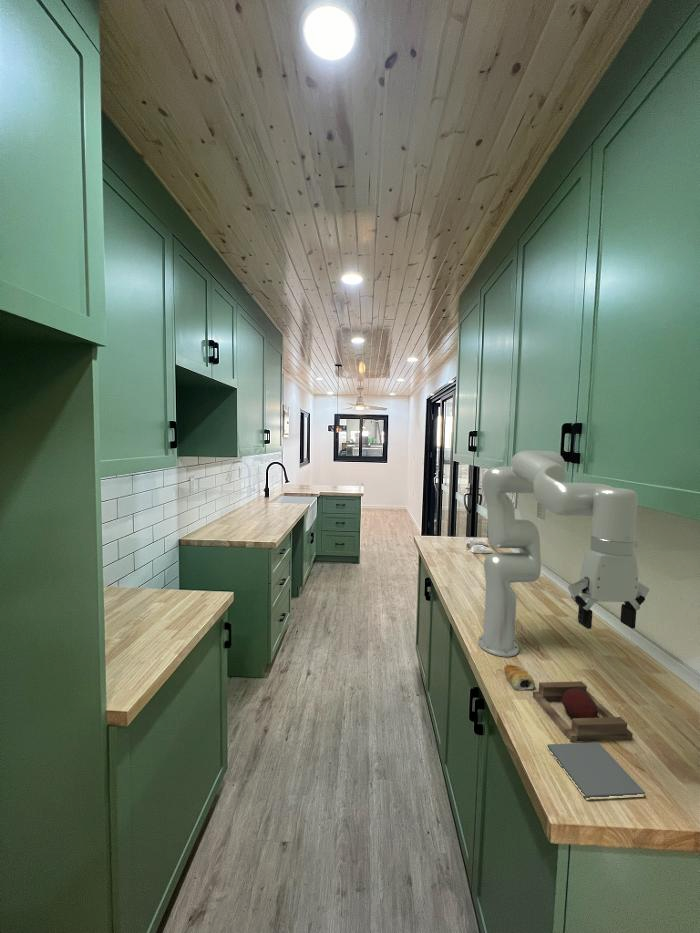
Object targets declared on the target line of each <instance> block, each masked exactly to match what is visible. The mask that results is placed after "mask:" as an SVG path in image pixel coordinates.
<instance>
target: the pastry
mask: <svg viewBox="0 0 700 933" xmlns="http://www.w3.org/2000/svg"><path fill="white" fill-rule="evenodd" d="M503 670H504V674H505V679H506V680H507V681H509V682H508V683H509V685H510V686H511V687H512V688H513V690H515V691H526V690H528V691H529V690H534V688H535V686H536V684H535V681H534V679H533V678H532V676H531V675H530V674H529V673H528V671H526V670H523V669H522V668H521V667H519V666H517V665H512V664H506V665H505V666H504V667H503Z"/></svg>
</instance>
